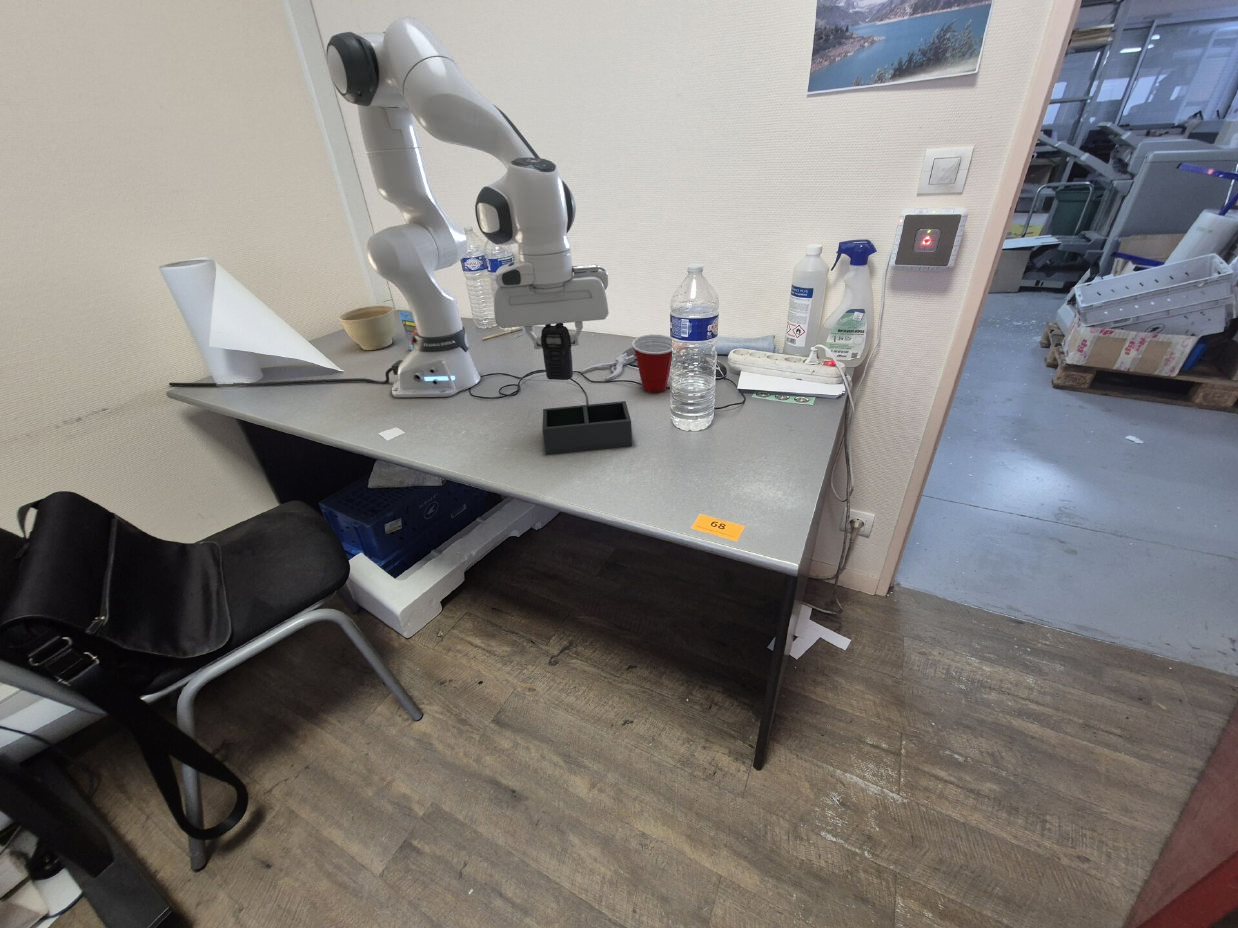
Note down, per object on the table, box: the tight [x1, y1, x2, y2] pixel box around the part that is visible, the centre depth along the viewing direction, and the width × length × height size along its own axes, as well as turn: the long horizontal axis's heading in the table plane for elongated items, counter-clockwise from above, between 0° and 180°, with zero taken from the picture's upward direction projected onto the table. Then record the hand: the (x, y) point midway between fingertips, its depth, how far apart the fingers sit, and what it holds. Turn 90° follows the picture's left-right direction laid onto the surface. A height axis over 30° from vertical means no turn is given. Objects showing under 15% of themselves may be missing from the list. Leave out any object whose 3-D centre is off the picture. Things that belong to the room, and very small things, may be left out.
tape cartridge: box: [398, 310, 417, 351], centre depth 154 cm, size 9×4×12 cm, turn 58°
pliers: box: [580, 352, 636, 382], centre depth 137 cm, size 10×2×15 cm
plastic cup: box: [631, 333, 673, 394], centre depth 121 cm, size 11×11×12 cm
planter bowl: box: [338, 305, 396, 351], centre depth 161 cm, size 16×16×11 cm
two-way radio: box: [540, 323, 574, 381], centre depth 93 cm, size 6×4×15 cm
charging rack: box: [541, 400, 633, 456], centre depth 103 cm, size 9×17×6 cm, turn 96°
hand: (556, 346), depth 93 cm, fingers closed on two-way radio, 5 cm apart
